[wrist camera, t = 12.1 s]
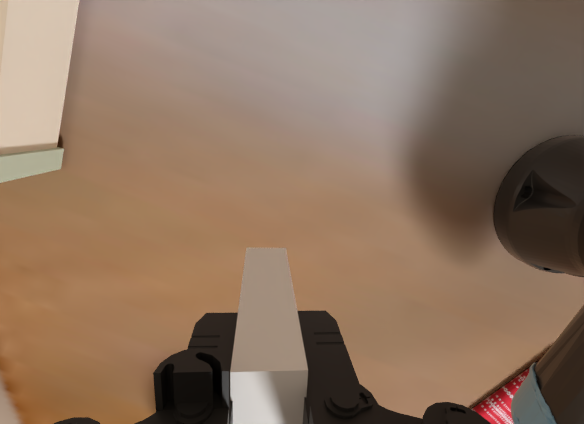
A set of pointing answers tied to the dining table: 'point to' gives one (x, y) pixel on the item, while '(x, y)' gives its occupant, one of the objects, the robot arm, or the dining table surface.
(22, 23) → the gate
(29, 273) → the dining table surface
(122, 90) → the dining table surface
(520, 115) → the dining table surface
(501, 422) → the dish towel
